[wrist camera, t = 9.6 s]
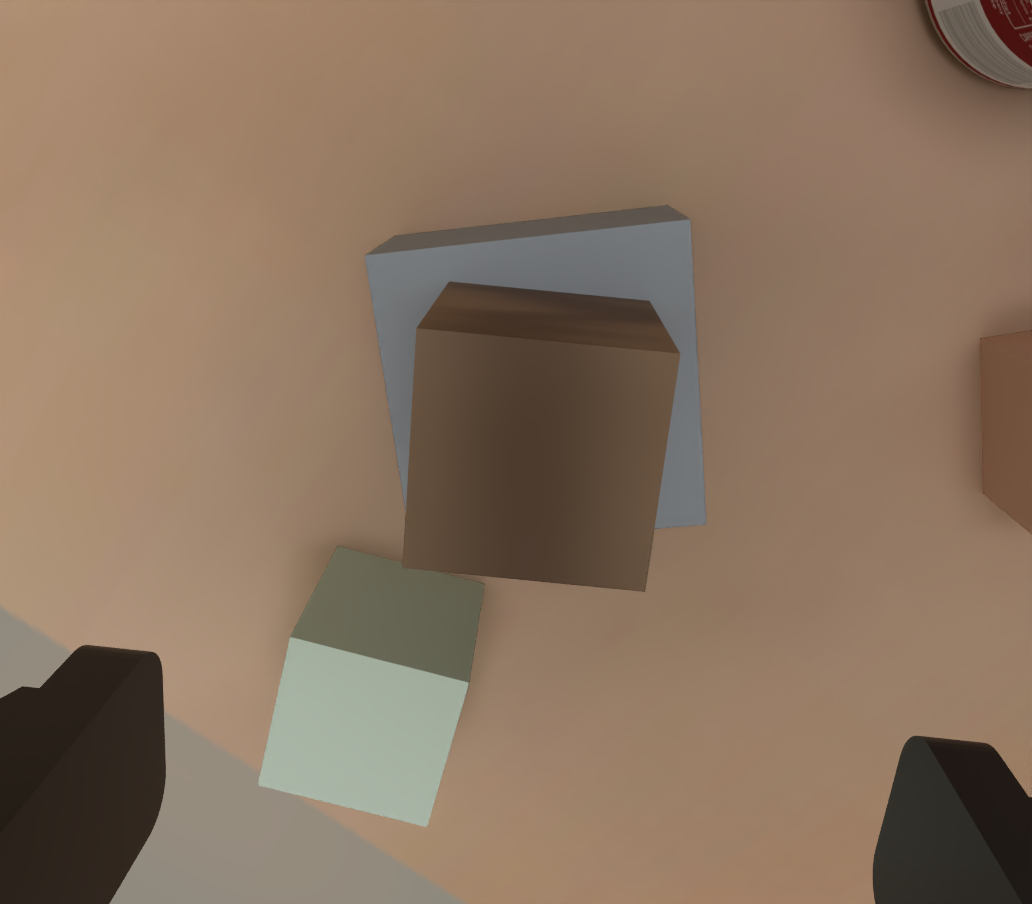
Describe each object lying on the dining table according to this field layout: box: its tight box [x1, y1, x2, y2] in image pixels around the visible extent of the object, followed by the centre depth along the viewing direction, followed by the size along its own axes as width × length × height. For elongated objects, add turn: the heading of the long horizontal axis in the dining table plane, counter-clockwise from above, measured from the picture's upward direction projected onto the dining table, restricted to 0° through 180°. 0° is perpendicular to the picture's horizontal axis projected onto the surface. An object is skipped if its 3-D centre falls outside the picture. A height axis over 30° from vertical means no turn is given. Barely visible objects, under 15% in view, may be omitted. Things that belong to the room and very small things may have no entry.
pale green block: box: [258, 546, 484, 827], centre depth 29 cm, size 5×5×6 cm
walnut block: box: [403, 281, 680, 592], centre depth 22 cm, size 5×5×6 cm
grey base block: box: [365, 205, 706, 529], centre depth 27 cm, size 8×8×5 cm
